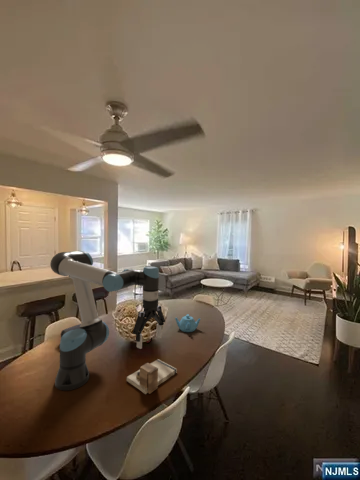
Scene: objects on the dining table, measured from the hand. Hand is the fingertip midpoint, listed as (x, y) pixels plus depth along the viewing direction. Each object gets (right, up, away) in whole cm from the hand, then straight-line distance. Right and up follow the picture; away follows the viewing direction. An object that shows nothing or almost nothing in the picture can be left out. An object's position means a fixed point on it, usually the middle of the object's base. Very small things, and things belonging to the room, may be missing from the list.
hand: (149, 342), depth 109 cm
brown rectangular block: (-2, -20, -1) cm, 20 cm away
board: (+1, -21, +7) cm, 22 cm away
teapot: (+21, -21, +67) cm, 73 cm away
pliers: (-7, -20, +52) cm, 57 cm away
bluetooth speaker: (-54, -19, +46) cm, 73 cm away
